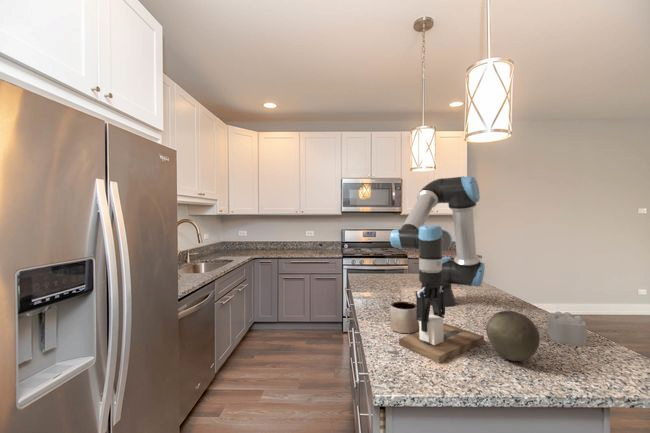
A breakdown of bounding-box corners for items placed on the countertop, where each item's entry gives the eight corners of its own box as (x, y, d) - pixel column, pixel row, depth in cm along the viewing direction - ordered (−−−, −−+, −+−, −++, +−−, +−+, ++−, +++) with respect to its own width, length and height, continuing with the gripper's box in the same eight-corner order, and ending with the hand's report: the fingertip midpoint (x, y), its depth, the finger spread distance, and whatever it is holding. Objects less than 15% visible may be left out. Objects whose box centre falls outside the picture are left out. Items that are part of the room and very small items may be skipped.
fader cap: (428, 335, 106) (428, 313, 106) (443, 341, 101) (443, 317, 101) (419, 339, 103) (419, 316, 103) (434, 345, 98) (434, 321, 98)
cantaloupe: (483, 347, 102) (483, 303, 102) (532, 354, 97) (532, 308, 97) (490, 367, 89) (489, 317, 89) (547, 376, 84) (546, 322, 84)
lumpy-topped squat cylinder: (552, 342, 106) (552, 317, 106) (543, 329, 117) (543, 307, 117) (590, 347, 101) (590, 322, 101) (577, 333, 113) (577, 310, 113)
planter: (407, 322, 127) (406, 300, 127) (424, 331, 116) (424, 307, 116) (385, 326, 123) (384, 303, 123) (401, 336, 113) (400, 310, 113)
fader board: (443, 328, 119) (443, 322, 119) (484, 342, 106) (483, 335, 106) (399, 344, 105) (399, 338, 105) (439, 363, 92) (439, 355, 92)
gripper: (422, 275, 94) (423, 349, 94) (456, 269, 104) (456, 336, 104) (404, 272, 100) (404, 341, 100) (437, 266, 110) (438, 329, 110)
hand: (431, 338), depth 102 cm, fingers closed on fader cap, 5 cm apart
